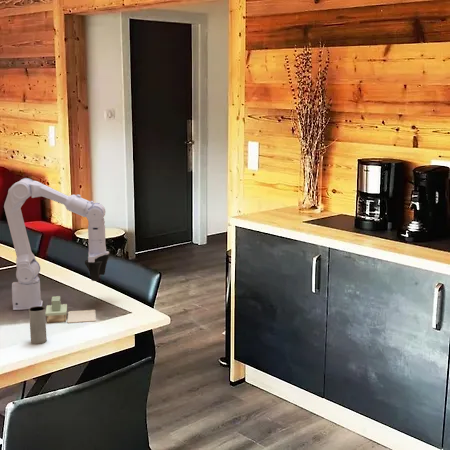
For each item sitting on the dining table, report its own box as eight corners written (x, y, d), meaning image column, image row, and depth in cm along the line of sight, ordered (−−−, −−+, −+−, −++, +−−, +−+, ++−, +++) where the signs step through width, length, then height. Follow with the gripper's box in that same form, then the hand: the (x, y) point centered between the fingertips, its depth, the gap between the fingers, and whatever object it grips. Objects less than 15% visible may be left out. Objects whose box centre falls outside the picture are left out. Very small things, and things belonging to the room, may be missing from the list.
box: (46, 323, 216) (46, 315, 216) (48, 315, 224) (47, 307, 224) (66, 321, 218) (65, 314, 217) (66, 313, 225) (66, 306, 225)
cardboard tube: (32, 338, 203) (30, 306, 201) (47, 338, 203) (46, 305, 201) (29, 344, 198) (27, 311, 196) (45, 344, 199) (43, 310, 197)
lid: (45, 317, 216) (44, 303, 215) (46, 309, 224) (46, 295, 223) (66, 316, 217) (65, 301, 216) (67, 308, 225) (66, 294, 224)
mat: (67, 323, 216) (67, 322, 216) (68, 312, 227) (68, 311, 227) (95, 321, 218) (95, 320, 218) (95, 310, 229) (95, 309, 228)
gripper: (102, 244, 222) (103, 283, 225) (114, 235, 236) (115, 272, 239) (81, 243, 223) (83, 283, 226) (94, 234, 237) (95, 271, 240)
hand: (98, 277), depth 233 cm, fingers open, 7 cm apart
